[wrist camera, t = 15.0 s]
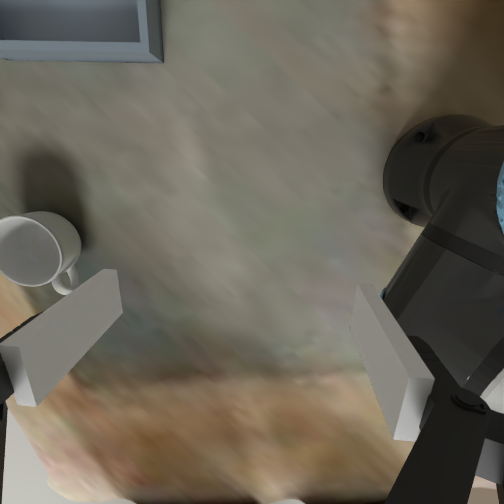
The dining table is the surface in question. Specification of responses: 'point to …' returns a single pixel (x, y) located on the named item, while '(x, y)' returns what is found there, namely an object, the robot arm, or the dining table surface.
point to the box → (81, 30)
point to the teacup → (39, 250)
